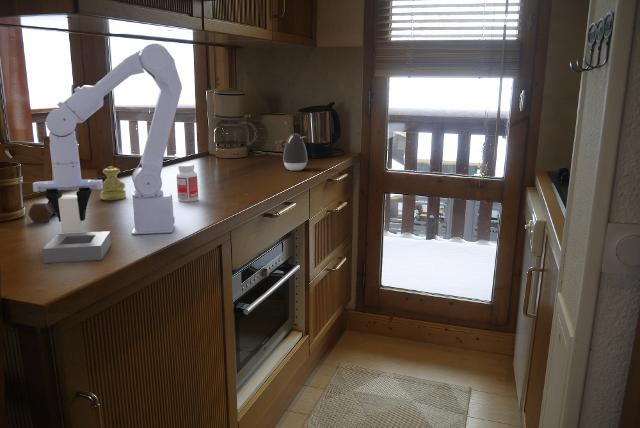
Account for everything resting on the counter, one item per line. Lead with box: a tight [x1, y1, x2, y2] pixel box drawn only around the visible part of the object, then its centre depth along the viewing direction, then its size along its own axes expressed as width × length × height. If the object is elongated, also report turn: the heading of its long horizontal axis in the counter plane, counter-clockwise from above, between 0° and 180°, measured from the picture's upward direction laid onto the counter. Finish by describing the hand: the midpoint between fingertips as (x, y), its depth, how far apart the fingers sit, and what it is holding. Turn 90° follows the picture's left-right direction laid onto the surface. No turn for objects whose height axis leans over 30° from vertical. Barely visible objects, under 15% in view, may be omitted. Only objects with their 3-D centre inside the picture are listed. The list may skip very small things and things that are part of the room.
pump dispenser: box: [282, 133, 308, 172], centre depth 220 cm, size 10×10×15 cm
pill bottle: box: [176, 163, 199, 203], centre depth 162 cm, size 6×6×11 cm
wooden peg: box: [58, 194, 86, 234], centre depth 123 cm, size 4×4×8 cm
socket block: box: [42, 230, 112, 264], centre depth 113 cm, size 11×11×3 cm
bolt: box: [27, 200, 57, 224], centre depth 144 cm, size 6×5×15 cm
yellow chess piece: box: [100, 165, 127, 202], centre depth 165 cm, size 7×7×10 cm
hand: (72, 220), depth 124 cm, fingers closed on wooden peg, 4 cm apart
